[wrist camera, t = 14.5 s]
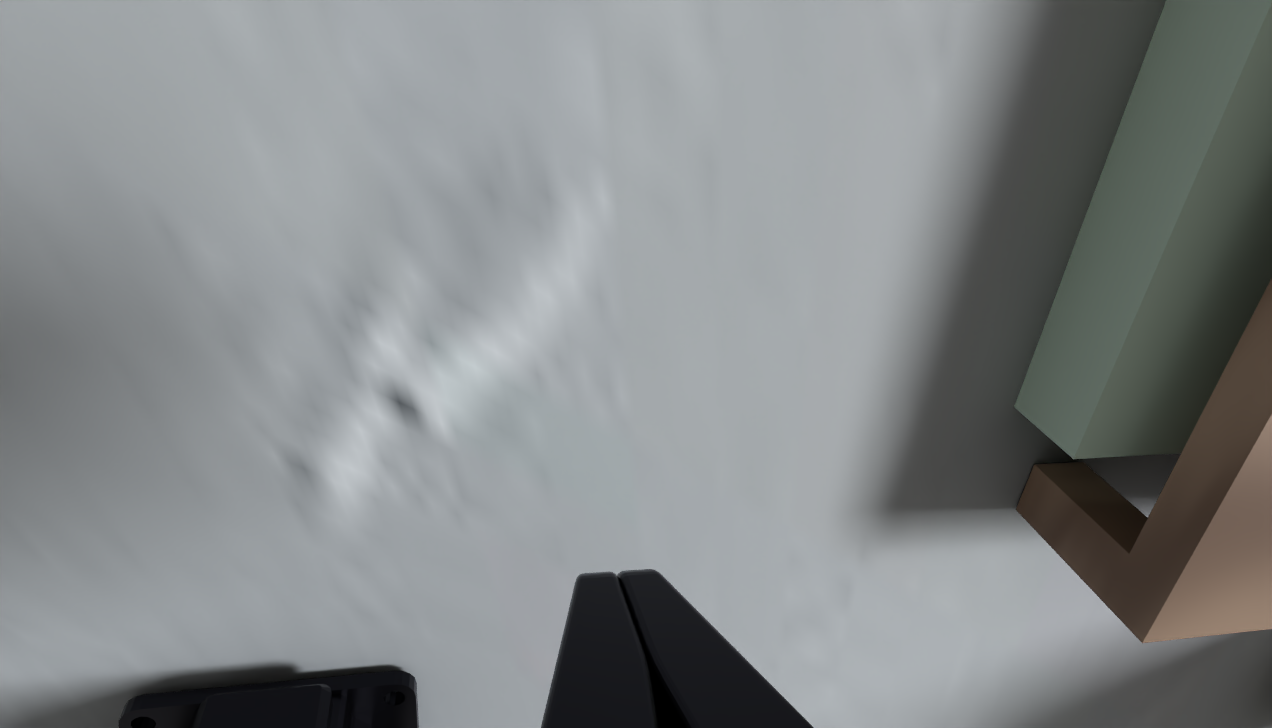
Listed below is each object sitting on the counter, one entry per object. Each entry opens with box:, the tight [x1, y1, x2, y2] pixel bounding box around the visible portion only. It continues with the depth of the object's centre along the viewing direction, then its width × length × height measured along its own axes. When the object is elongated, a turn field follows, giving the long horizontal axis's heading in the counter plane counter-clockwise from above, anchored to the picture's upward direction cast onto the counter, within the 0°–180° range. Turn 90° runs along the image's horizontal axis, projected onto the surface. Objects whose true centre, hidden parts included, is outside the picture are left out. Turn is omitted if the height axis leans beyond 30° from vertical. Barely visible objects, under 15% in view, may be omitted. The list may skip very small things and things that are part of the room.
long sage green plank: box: [1014, 0, 1272, 459], centre depth 17 cm, size 12×5×3 cm, turn 174°
